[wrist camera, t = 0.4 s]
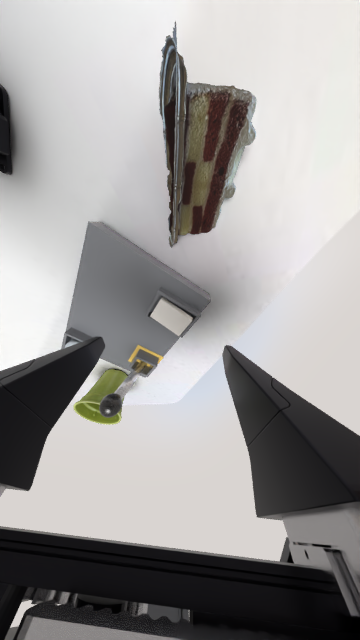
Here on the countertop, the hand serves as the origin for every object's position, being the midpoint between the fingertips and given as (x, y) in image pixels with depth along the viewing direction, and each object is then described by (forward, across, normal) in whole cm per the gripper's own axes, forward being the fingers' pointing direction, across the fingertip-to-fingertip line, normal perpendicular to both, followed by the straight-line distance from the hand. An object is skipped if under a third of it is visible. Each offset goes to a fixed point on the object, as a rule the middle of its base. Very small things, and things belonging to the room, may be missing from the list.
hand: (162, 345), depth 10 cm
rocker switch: (+9, 0, -3) cm, 10 cm away
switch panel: (+13, -8, -6) cm, 17 cm away
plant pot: (+13, -15, -25) cm, 32 cm away
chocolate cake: (+14, +2, +11) cm, 18 cm away
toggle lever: (+10, -6, -14) cm, 18 cm away
